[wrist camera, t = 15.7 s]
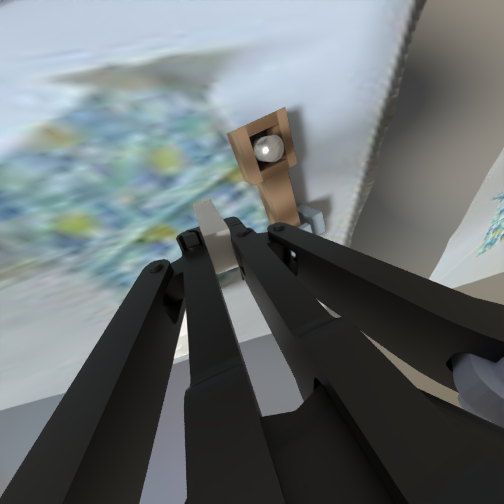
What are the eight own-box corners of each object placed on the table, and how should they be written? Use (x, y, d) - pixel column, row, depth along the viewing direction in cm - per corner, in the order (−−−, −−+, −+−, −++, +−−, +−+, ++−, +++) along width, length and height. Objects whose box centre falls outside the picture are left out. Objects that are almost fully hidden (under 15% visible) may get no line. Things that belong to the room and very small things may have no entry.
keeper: (266, 221, 35) (288, 237, 28) (301, 201, 35) (330, 212, 28) (278, 250, 39) (300, 271, 32) (309, 232, 39) (336, 248, 33)
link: (226, 133, 26) (235, 129, 22) (268, 114, 27) (285, 106, 23) (267, 241, 37) (279, 252, 33) (297, 225, 37) (312, 234, 33)
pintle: (241, 141, 27) (261, 136, 21) (258, 138, 28) (283, 132, 21) (244, 162, 29) (263, 164, 22) (260, 158, 29) (284, 159, 23)
